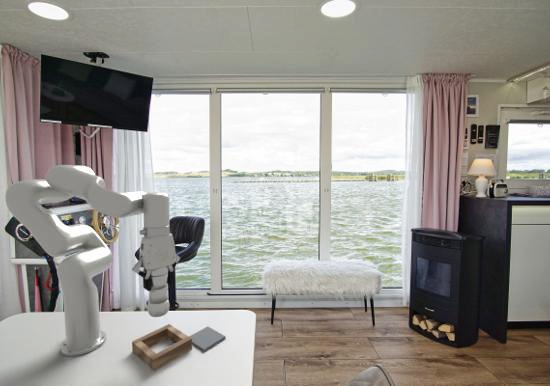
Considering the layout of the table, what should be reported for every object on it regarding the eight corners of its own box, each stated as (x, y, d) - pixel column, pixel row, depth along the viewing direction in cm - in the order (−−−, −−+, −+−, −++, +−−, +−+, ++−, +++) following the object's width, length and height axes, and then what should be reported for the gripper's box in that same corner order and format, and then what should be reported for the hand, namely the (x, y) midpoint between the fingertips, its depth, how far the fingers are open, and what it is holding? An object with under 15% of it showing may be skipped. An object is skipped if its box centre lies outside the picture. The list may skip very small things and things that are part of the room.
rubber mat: (186, 340, 94) (186, 337, 94) (207, 328, 101) (207, 326, 101) (204, 351, 88) (204, 349, 88) (225, 338, 95) (225, 336, 95)
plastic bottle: (161, 321, 84) (160, 258, 83) (142, 318, 85) (141, 256, 84) (173, 310, 90) (172, 252, 89) (155, 308, 92) (154, 250, 90)
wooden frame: (132, 351, 88) (132, 341, 88) (169, 333, 98) (169, 323, 98) (153, 371, 79) (153, 359, 79) (192, 348, 89) (191, 338, 89)
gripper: (134, 238, 77) (135, 299, 78) (187, 228, 90) (188, 281, 92) (123, 234, 81) (124, 292, 83) (175, 225, 95) (176, 275, 96)
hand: (158, 285), depth 87 cm, fingers closed on plastic bottle, 6 cm apart
